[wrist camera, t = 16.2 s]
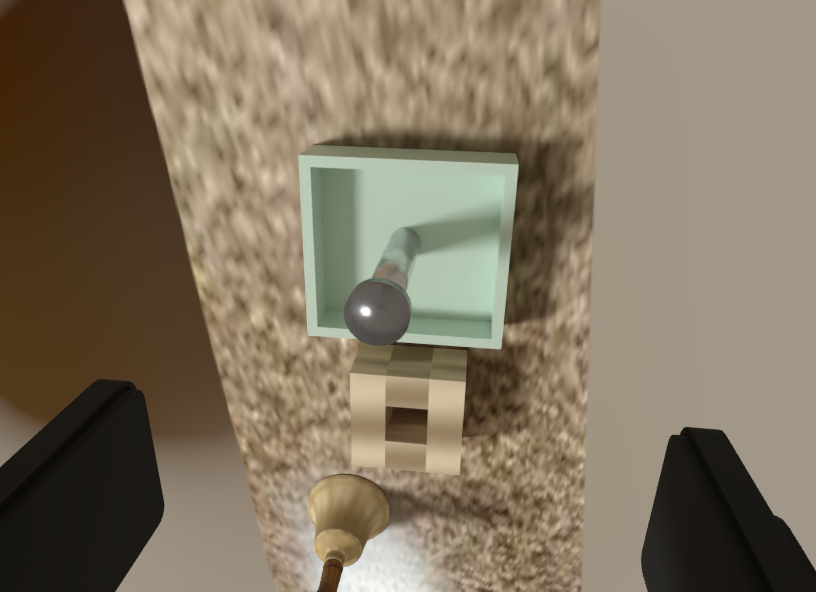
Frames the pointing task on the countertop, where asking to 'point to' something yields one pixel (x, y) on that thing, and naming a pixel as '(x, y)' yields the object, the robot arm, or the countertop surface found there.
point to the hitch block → (408, 408)
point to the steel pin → (385, 293)
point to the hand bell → (344, 522)
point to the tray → (425, 214)
